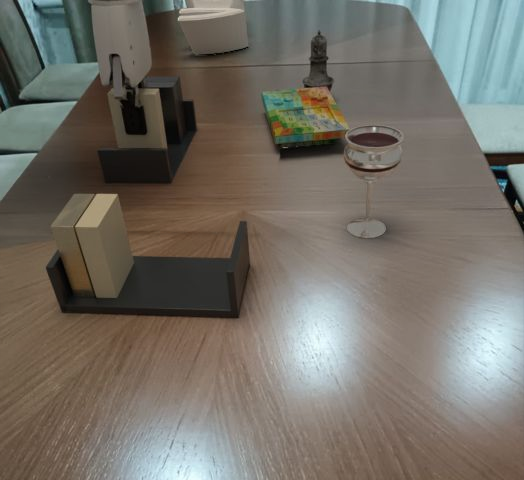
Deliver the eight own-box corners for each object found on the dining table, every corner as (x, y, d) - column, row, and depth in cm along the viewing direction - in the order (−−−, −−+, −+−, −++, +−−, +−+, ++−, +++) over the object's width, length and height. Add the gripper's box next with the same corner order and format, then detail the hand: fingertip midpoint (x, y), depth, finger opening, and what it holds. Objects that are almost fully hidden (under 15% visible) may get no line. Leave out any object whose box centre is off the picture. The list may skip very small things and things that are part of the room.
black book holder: (61, 312, 64) (32, 234, 57) (90, 261, 71) (68, 186, 64) (238, 318, 62) (230, 237, 55) (250, 265, 69) (244, 188, 62)
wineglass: (398, 219, 75) (410, 128, 67) (385, 246, 70) (395, 151, 62) (349, 211, 77) (354, 121, 69) (332, 236, 73) (336, 143, 65)
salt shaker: (296, 102, 108) (295, 31, 100) (314, 92, 111) (315, 23, 103) (321, 108, 105) (322, 36, 97) (339, 98, 108) (342, 28, 100)
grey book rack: (172, 189, 84) (160, 121, 78) (106, 189, 85) (90, 121, 79) (198, 135, 99) (190, 73, 92) (142, 135, 100) (130, 74, 93)
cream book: (164, 155, 87) (154, 94, 81) (119, 154, 87) (106, 93, 81) (167, 149, 89) (159, 88, 82) (123, 148, 89) (112, 88, 83)
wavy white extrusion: (248, 58, 129) (245, 5, 122) (175, 62, 130) (168, 9, 123) (249, 20, 155) (247, -26, 148) (189, 23, 156) (183, -23, 149)
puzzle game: (326, 81, 102) (351, 123, 87) (325, 108, 105) (349, 153, 90) (261, 86, 101) (274, 130, 87) (262, 113, 105) (275, 160, 90)
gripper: (106, -26, 80) (130, 110, 92) (64, 0, 68) (98, 151, 80) (159, -26, 79) (176, 110, 91) (125, 0, 67) (150, 152, 79)
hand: (139, 128), depth 86 cm, fingers closed on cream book, 2 cm apart
